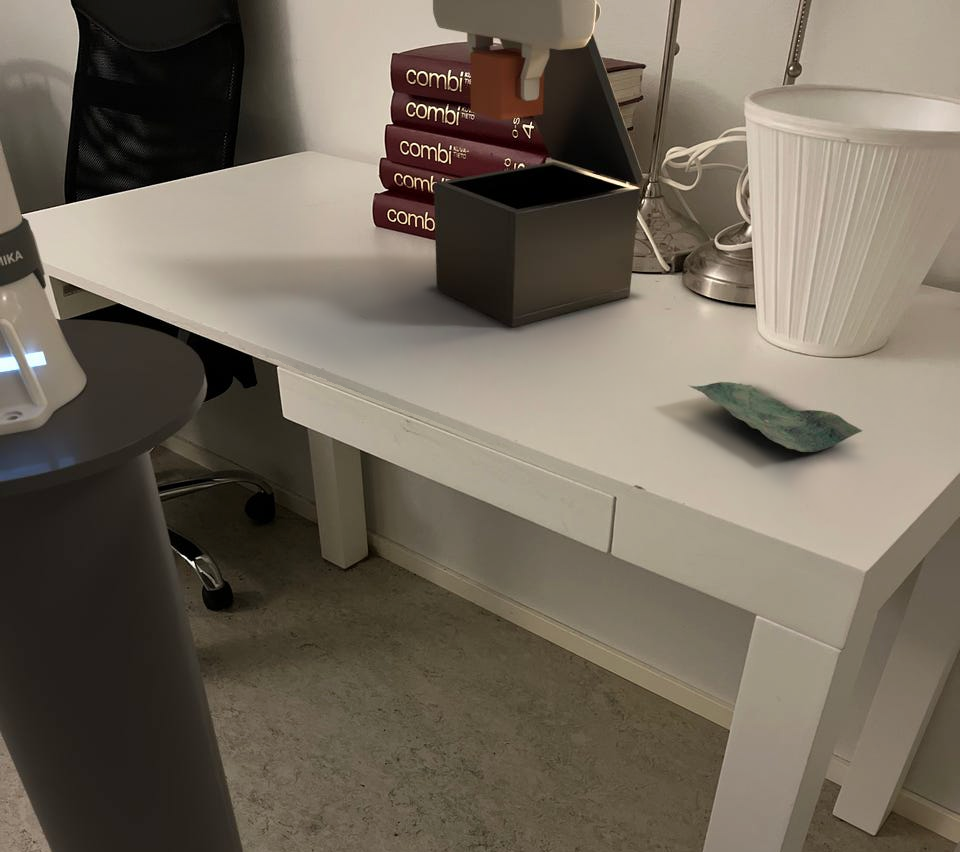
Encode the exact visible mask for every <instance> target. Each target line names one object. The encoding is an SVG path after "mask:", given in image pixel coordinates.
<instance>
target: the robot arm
mask: <svg viewBox="0 0 960 852" xmlns="http://www.w3.org/2000/svg"><path fill="white" fill-rule="evenodd" d="M596 2H597V0H432V13H433V18H434V20H435V24H436V25H437V27H438V28H440V29H443V30H448V31H455V32H459V33H465V34H466V42H467V43H466V47H467V50H468V53H469V54H470V53H471V52H478V51H487V50H491V47H493V46H494V39H498V40H500V39H503V40H508V41H513V42H519V43H522V57H524V58H526V60H525V63H524V66H523V70H522V73H521V76H520V77H515V88H516V89H515V96H516V97H517V98H518V99H522V100H526V101H529V100H536V99H537V98H538V96H539V82H540V77H541V75H542V73H543V71H544V68H545V66H546V64H547V61H548V59H549V51H550V48H551V49H557V50H564V49H575V48H582V47H585V46H586V44H587V43H588V41H589V39H590V37H591V35H592V33H593V34H594V29H595V24H596V23H595V14H596ZM42 261H43V260H42V258H41V254H40V250H39V247H38V243H37V240H36V236H35V235H34V231H33V230H32V228H31V225H30V223H29V220H28V219H27V218H26V217H24V216H23V215H22V212H21V209H20V205H19V202H18V198H17V195H16V191H15V187H14V184H13V181H12V177H11V173H10V170H9V166H8V162H7V158H6V155H5V152H4V148H3V144H2V141H1V139H0V435H6V434H11V433H17V432H23V431H28V430H33V429H36V428H39V427H41V426H42V425H44V424H45V423H46V422H47V421H48V419H49V418H50V417H51V415H52V414H53V412H54V411H55V410H57V409H58V408H60V407H61V406H63V405H65V404H66V403H68V402H69V401H71V400H72V399H74V398H75V397H76V396H77V395H78V394H79V393H80V392H81V391H82V390H83V389H84V387H85V385H86V381H87V378H86V375H85V373H84V371H83V370H82V368H81V367H80V365H79V364H78V362H77V360H76V358H75V357H74V355H73V353H72V351H71V349H70V347H69V346H68V344H67V342H66V340H65V338H64V335H63V333H62V331H61V329H60V327H59V325H58V322H57V320H58V319H57V317H56V315H55V313H54V311H53V308H52V306H51V302H50V300H49V298H48V294H47V292H46V288H47V287H46V286H47V284H46V283H47V282H46V279H45V275H46V274H45V269H44V266H43V265H44V264H43V262H42Z"/></svg>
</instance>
